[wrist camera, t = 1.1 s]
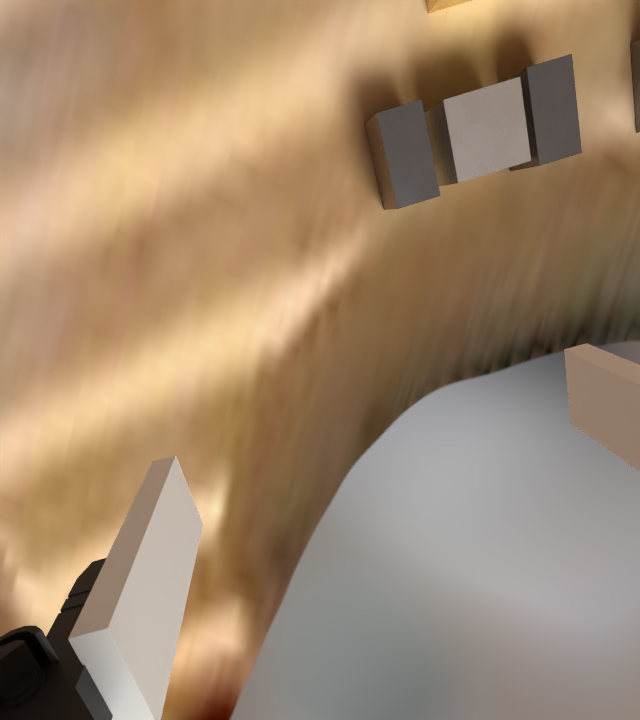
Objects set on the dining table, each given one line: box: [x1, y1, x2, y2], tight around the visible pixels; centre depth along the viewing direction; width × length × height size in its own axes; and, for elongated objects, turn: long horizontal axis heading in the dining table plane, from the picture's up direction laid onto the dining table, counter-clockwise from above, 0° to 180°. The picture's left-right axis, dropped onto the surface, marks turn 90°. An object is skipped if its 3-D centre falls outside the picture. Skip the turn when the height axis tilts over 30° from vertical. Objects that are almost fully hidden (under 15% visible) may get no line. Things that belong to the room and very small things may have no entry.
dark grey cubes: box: [365, 40, 640, 210], centre depth 33 cm, size 6×23×4 cm, turn 106°
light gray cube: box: [424, 77, 531, 186], centre depth 32 cm, size 5×5×5 cm
